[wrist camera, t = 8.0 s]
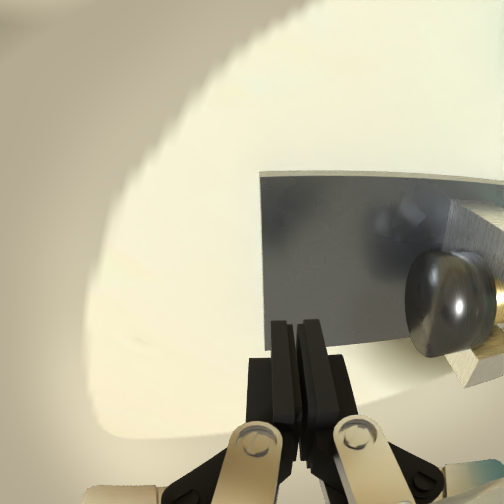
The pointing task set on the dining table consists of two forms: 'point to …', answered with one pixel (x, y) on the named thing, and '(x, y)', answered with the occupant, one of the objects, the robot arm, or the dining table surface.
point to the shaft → (451, 302)
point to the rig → (372, 251)
